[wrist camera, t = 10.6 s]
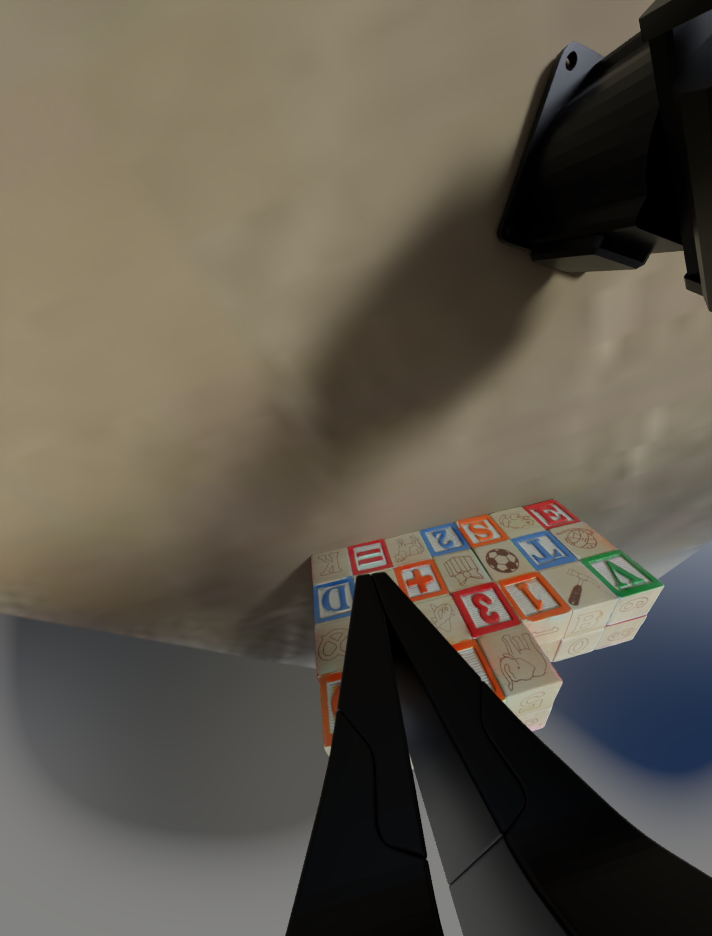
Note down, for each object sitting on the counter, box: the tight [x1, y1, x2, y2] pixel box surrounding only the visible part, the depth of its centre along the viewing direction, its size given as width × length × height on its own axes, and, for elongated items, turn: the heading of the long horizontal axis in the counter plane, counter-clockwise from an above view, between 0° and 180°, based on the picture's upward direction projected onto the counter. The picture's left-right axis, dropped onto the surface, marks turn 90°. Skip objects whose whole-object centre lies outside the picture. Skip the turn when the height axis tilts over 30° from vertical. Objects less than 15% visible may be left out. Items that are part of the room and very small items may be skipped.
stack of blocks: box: [311, 499, 664, 769], centre depth 22 cm, size 21×6×12 cm, turn 98°
